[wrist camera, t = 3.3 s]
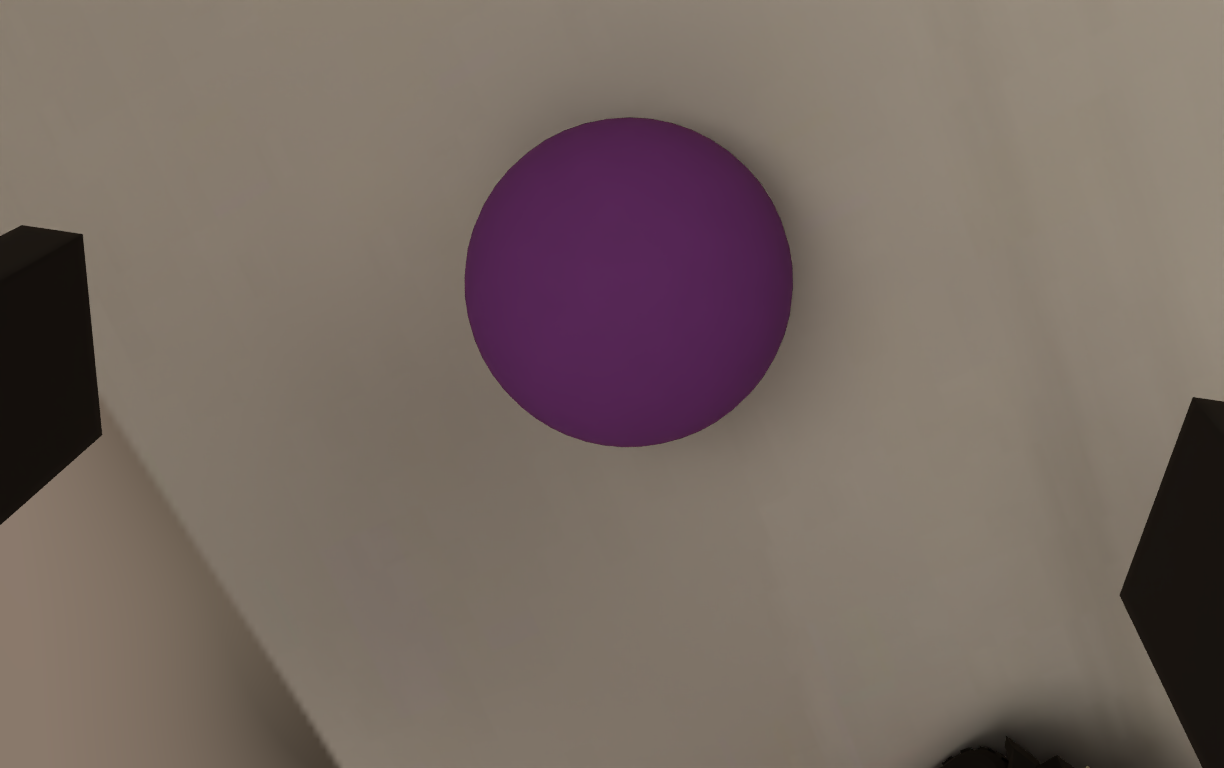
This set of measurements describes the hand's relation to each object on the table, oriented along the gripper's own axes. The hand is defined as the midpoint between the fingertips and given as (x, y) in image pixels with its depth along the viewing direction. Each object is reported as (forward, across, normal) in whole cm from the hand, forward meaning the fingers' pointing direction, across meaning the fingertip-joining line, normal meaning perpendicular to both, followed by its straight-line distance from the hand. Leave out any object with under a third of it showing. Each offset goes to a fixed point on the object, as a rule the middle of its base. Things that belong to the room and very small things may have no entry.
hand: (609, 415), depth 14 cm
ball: (+4, 0, 0) cm, 4 cm away
